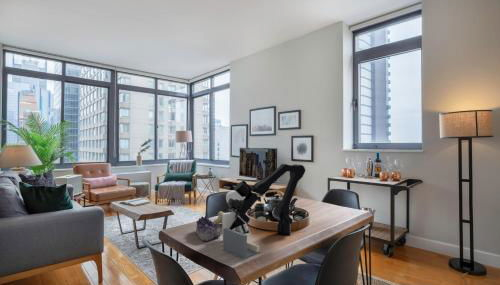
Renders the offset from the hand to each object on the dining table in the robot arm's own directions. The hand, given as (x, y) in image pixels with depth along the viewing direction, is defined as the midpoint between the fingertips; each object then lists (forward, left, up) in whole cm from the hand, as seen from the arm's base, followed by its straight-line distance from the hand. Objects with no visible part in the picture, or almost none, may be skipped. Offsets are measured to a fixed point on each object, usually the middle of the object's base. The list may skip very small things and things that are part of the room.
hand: (227, 226), depth 133 cm
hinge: (0, -20, -8) cm, 22 cm away
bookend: (-10, +10, -8) cm, 16 cm away
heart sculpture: (+6, -43, -8) cm, 44 cm away
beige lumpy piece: (+13, -23, -8) cm, 28 cm away
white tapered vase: (-1, 0, -8) cm, 8 cm away
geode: (+14, -7, -8) cm, 18 cm away
